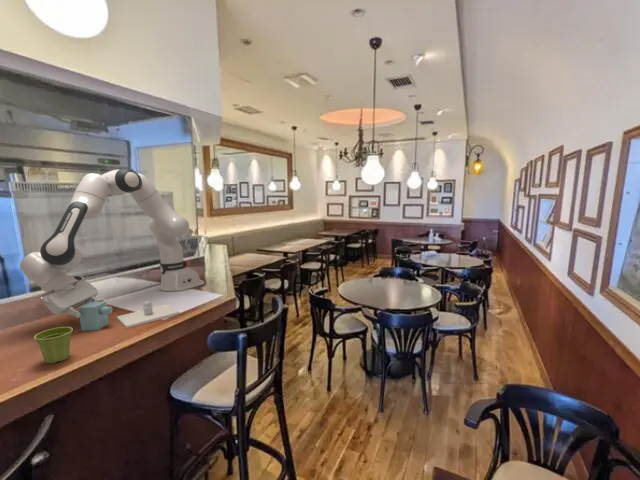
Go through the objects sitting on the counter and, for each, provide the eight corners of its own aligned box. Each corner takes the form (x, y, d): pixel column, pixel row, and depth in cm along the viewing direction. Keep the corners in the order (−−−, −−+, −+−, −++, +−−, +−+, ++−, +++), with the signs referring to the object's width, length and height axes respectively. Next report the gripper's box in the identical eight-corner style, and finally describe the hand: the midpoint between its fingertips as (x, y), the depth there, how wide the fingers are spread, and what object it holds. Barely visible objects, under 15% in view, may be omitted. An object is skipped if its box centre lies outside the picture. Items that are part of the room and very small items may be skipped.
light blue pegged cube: (93, 323, 132) (90, 301, 130) (117, 323, 132) (114, 301, 130) (81, 330, 126) (78, 307, 124) (106, 329, 125) (103, 307, 124)
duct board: (167, 306, 150) (165, 292, 149) (179, 313, 140) (178, 298, 139) (116, 318, 136) (115, 303, 135) (126, 328, 126) (124, 311, 125)
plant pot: (55, 351, 109) (51, 326, 108) (83, 351, 109) (79, 326, 107) (29, 366, 100) (25, 339, 98) (60, 366, 99) (56, 339, 98)
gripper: (43, 289, 116) (74, 316, 117) (84, 274, 136) (111, 297, 137) (32, 302, 116) (63, 328, 118) (75, 285, 137) (101, 307, 138)
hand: (89, 311), depth 128 cm, fingers open, 8 cm apart
